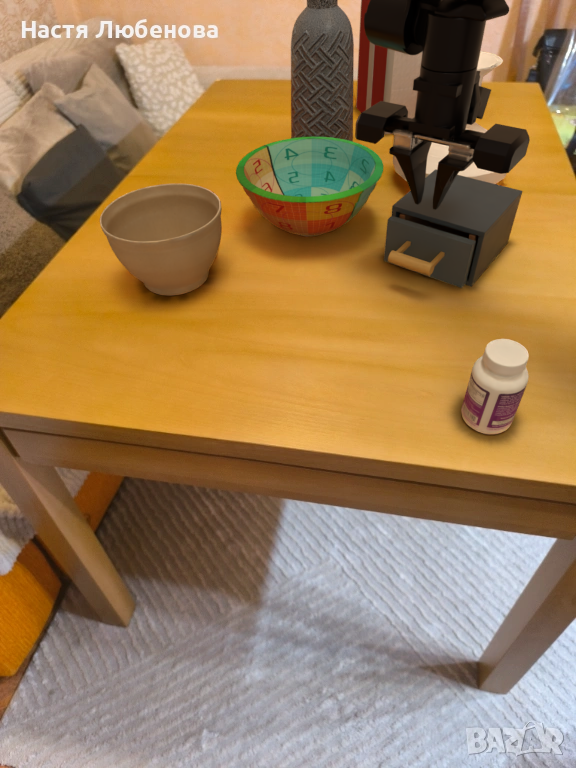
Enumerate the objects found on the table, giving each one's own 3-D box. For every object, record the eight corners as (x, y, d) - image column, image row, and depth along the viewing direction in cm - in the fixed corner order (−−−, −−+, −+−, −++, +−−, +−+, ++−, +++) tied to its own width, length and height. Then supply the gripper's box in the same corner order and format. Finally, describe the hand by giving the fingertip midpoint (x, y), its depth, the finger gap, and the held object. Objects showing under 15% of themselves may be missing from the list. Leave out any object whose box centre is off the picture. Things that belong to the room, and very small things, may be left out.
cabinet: (471, 286, 74) (485, 232, 68) (386, 257, 80) (392, 205, 74) (507, 243, 81) (522, 190, 75) (427, 219, 87) (435, 169, 81)
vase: (364, 154, 105) (375, -23, 85) (317, 172, 100) (316, -10, 80) (325, 136, 112) (326, -32, 92) (279, 153, 107) (270, -20, 87)
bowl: (407, 232, 84) (415, 170, 77) (288, 280, 77) (285, 217, 69) (326, 181, 98) (327, 124, 90) (219, 217, 90) (210, 159, 83)
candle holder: (529, 185, 93) (566, 61, 79) (444, 219, 86) (467, 91, 72) (448, 148, 105) (468, 35, 91) (368, 175, 99) (376, 58, 85)
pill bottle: (512, 404, 59) (538, 339, 52) (510, 441, 55) (537, 376, 48) (462, 394, 60) (481, 329, 53) (456, 429, 56) (475, 364, 50)
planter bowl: (249, 259, 81) (241, 191, 73) (195, 322, 71) (179, 251, 63) (161, 240, 86) (145, 175, 78) (99, 296, 76) (73, 228, 68)
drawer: (445, 307, 69) (455, 263, 65) (365, 277, 75) (368, 235, 70) (497, 246, 79) (508, 204, 74) (422, 224, 84) (428, 183, 79)
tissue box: (420, 97, 125) (439, -49, 106) (454, 124, 113) (482, -35, 94) (354, 106, 123) (360, -41, 104) (381, 135, 111) (394, -25, 92)
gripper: (566, 56, 55) (524, 198, 66) (405, 34, 63) (392, 164, 74) (528, 87, 49) (489, 238, 60) (355, 60, 57) (350, 196, 68)
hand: (427, 205), depth 66 cm, fingers closed
